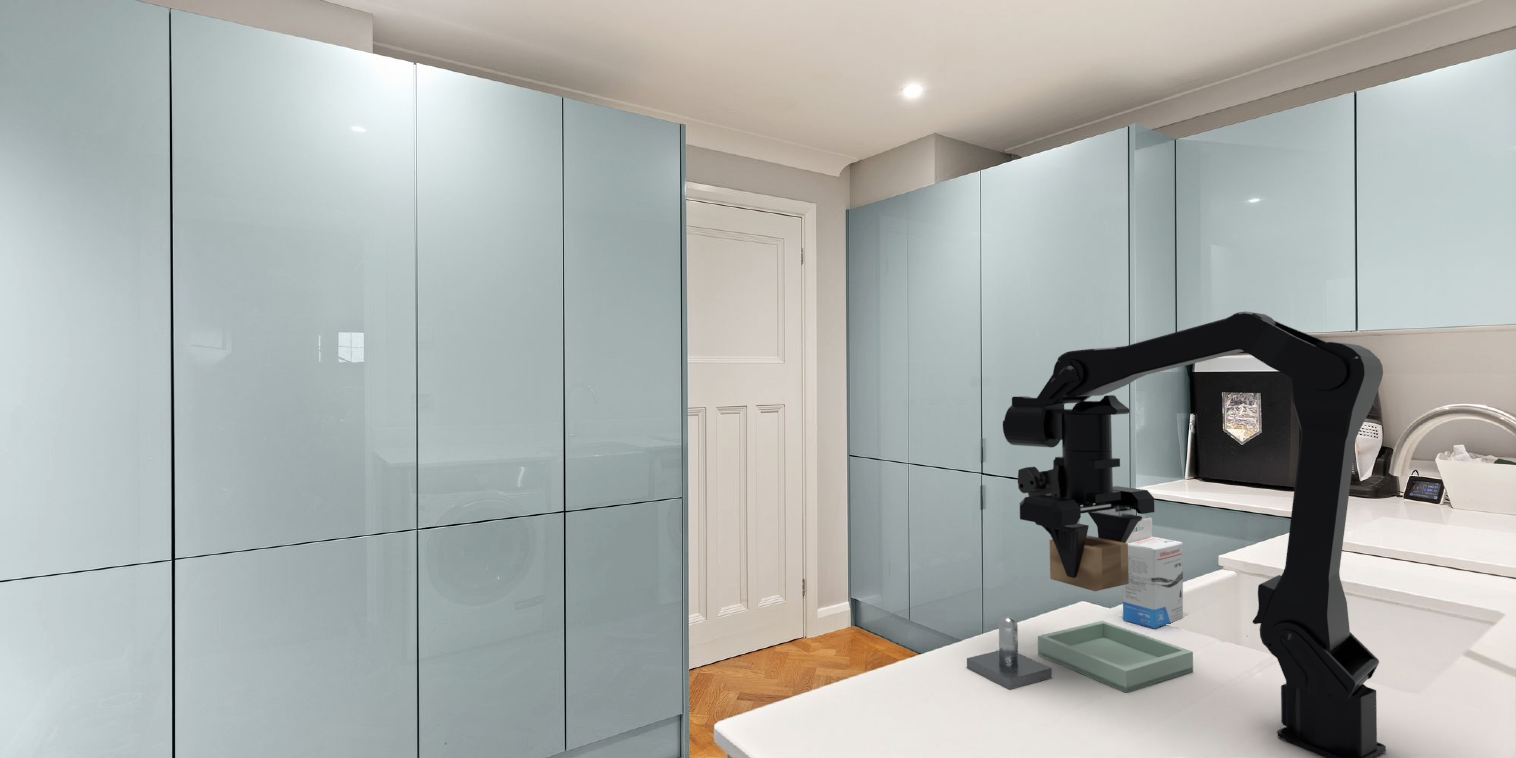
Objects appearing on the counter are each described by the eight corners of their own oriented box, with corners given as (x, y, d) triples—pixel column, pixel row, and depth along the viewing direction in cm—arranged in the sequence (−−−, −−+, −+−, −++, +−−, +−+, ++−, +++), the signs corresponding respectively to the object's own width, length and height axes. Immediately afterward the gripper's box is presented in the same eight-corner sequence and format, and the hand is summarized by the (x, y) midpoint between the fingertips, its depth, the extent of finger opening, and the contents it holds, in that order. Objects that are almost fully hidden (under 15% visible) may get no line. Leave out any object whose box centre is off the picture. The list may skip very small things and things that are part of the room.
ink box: (1155, 630, 100) (1154, 528, 100) (1121, 620, 105) (1120, 522, 105) (1185, 618, 105) (1184, 521, 105) (1151, 609, 109) (1150, 516, 109)
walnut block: (1128, 583, 87) (1127, 543, 87) (1094, 591, 84) (1094, 549, 84) (1083, 572, 92) (1082, 534, 92) (1050, 578, 89) (1049, 539, 89)
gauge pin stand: (1051, 677, 85) (1051, 620, 85) (1009, 689, 81) (1009, 630, 81) (1007, 657, 91) (1007, 604, 91) (966, 667, 88) (966, 612, 88)
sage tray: (1193, 671, 86) (1192, 651, 86) (1126, 692, 80) (1125, 671, 80) (1102, 638, 97) (1102, 620, 97) (1037, 654, 92) (1037, 635, 92)
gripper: (1080, 442, 100) (1082, 551, 99) (985, 449, 91) (987, 569, 91) (1155, 447, 90) (1158, 568, 90) (1057, 456, 81) (1060, 590, 81)
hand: (1089, 573), depth 88 cm, fingers closed on walnut block, 6 cm apart
